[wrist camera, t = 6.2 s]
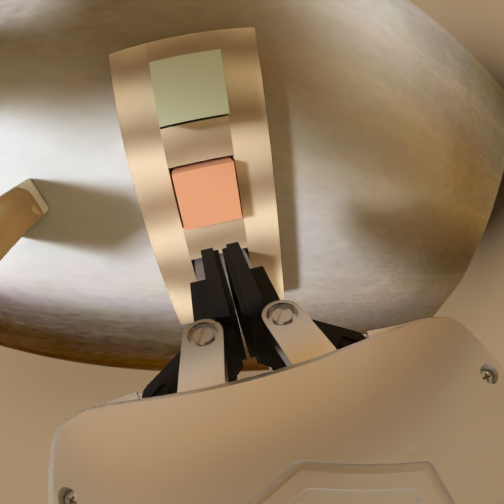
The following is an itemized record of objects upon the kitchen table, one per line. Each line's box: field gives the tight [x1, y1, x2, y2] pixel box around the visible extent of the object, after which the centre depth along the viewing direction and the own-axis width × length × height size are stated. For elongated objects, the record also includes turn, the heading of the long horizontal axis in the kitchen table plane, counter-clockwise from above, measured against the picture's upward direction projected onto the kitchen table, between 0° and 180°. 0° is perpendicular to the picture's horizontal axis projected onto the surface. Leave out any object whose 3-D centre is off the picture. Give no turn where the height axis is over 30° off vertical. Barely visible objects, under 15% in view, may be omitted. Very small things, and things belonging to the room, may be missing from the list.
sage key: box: [149, 49, 230, 127], centre depth 18 cm, size 5×5×4 cm
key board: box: [108, 27, 284, 324], centre depth 25 cm, size 28×12×3 cm, turn 7°
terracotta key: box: [172, 156, 242, 231], centre depth 24 cm, size 5×5×4 cm
